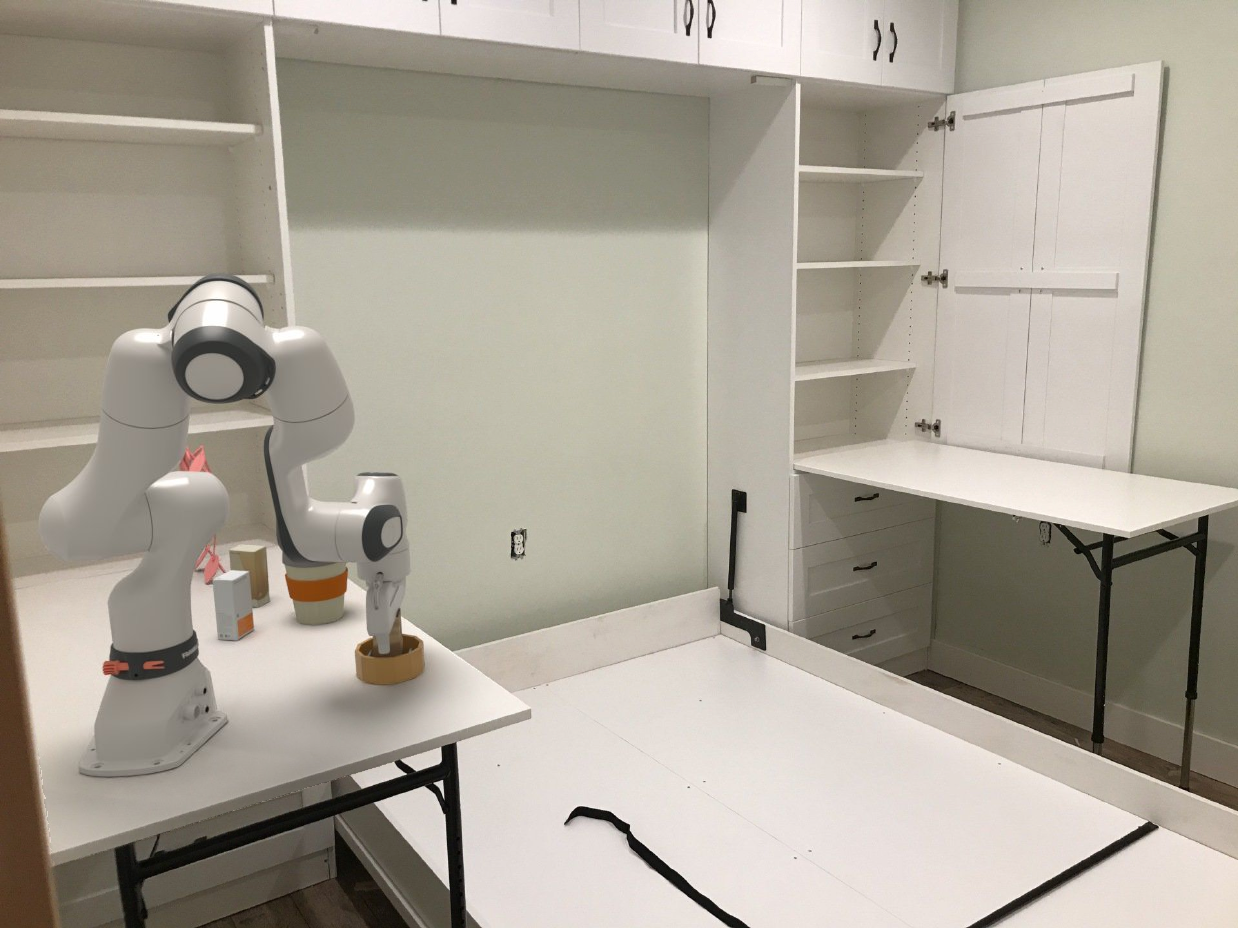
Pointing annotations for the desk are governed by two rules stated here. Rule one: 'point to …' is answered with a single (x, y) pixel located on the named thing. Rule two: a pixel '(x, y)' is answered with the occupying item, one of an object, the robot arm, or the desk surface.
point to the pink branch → (214, 559)
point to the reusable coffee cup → (316, 590)
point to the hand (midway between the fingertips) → (388, 641)
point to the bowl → (390, 662)
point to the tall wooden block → (392, 639)
